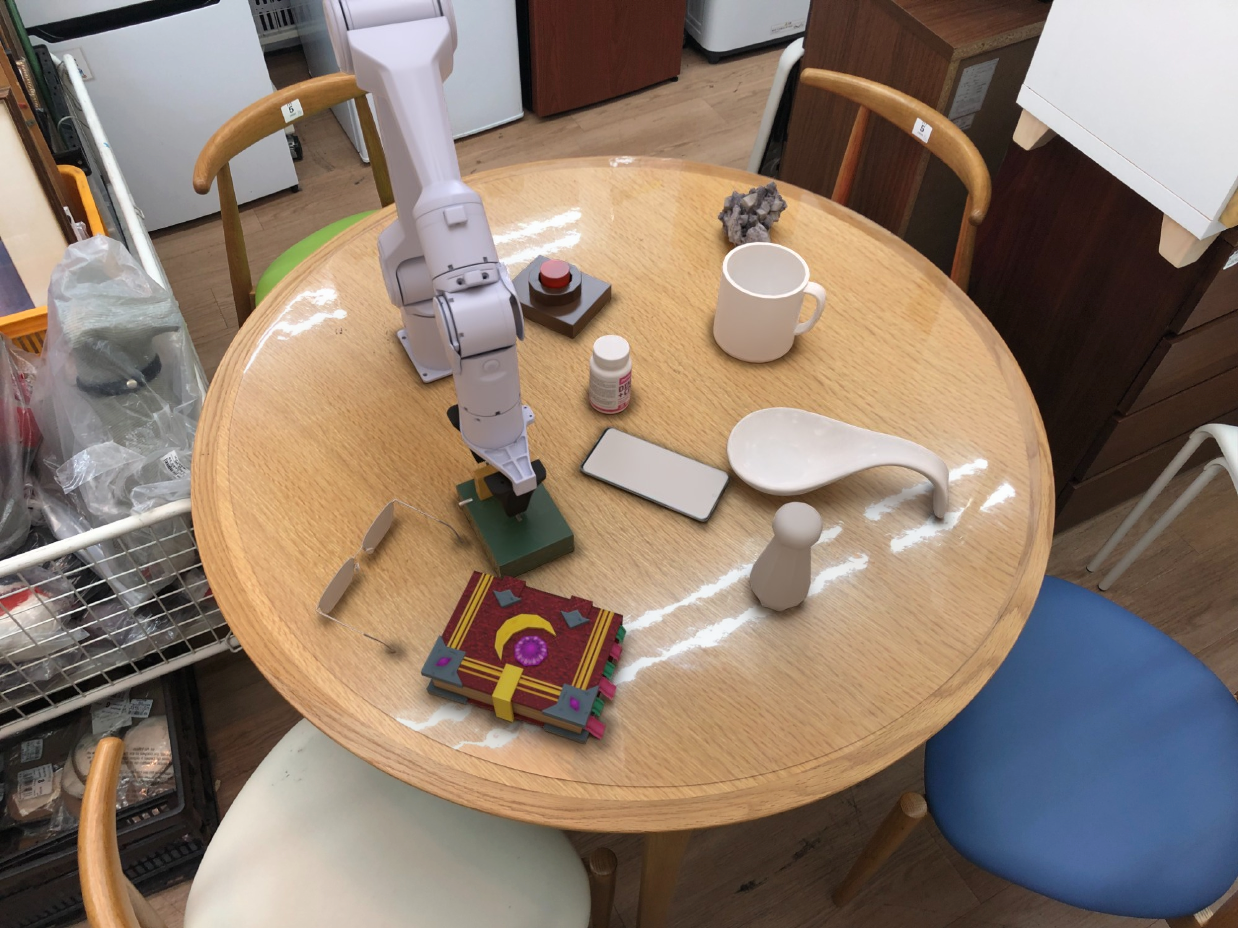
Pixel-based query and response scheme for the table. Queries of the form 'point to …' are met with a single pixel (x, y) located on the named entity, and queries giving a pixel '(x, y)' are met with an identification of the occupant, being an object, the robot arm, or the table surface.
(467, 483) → the dark green flat block
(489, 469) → the red-dot tan block
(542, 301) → the dark button base
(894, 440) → the spoon rest
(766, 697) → the table surface
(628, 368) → the pill bottle
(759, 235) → the mineral specimen
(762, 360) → the mug
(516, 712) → the decorative book
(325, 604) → the eyeglasses
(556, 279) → the button
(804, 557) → the salt shaker
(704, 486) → the smartphone
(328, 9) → the robot arm
